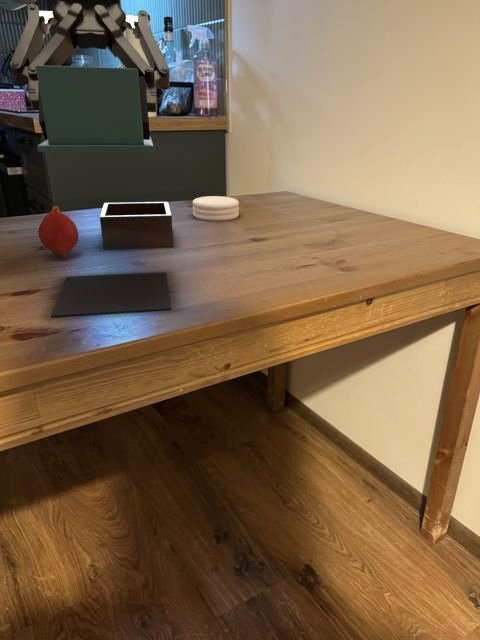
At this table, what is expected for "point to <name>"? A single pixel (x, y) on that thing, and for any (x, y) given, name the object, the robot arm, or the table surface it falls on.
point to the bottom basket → (136, 225)
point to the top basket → (91, 109)
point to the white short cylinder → (215, 208)
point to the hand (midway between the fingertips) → (96, 131)
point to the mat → (112, 294)
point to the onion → (58, 232)
